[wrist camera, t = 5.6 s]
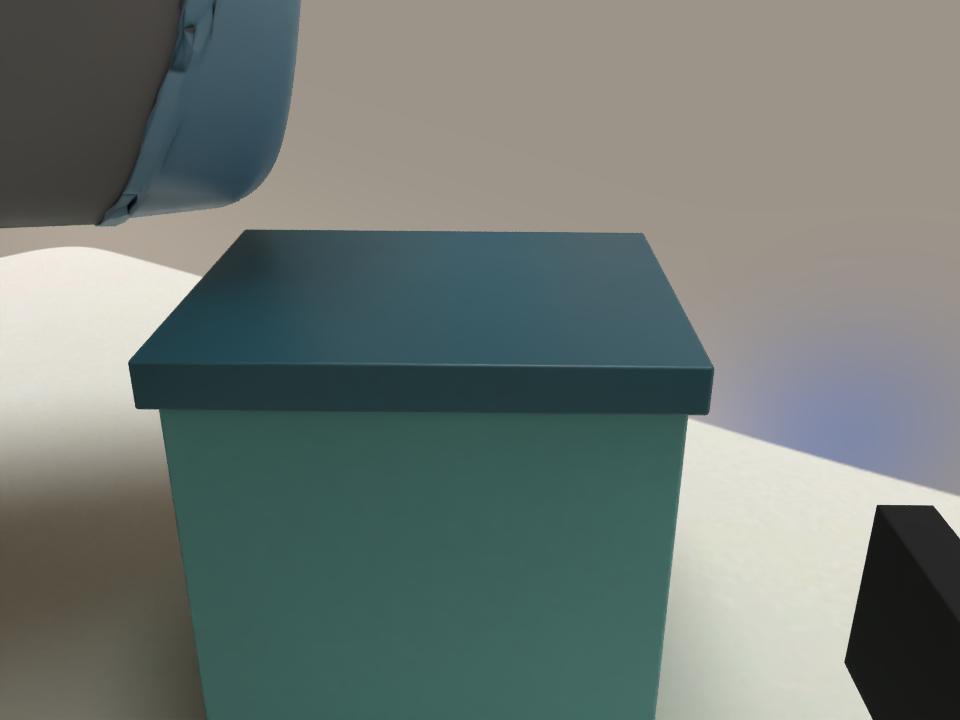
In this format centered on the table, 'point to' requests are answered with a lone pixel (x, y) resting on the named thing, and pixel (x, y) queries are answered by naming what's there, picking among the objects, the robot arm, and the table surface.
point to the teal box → (427, 472)
